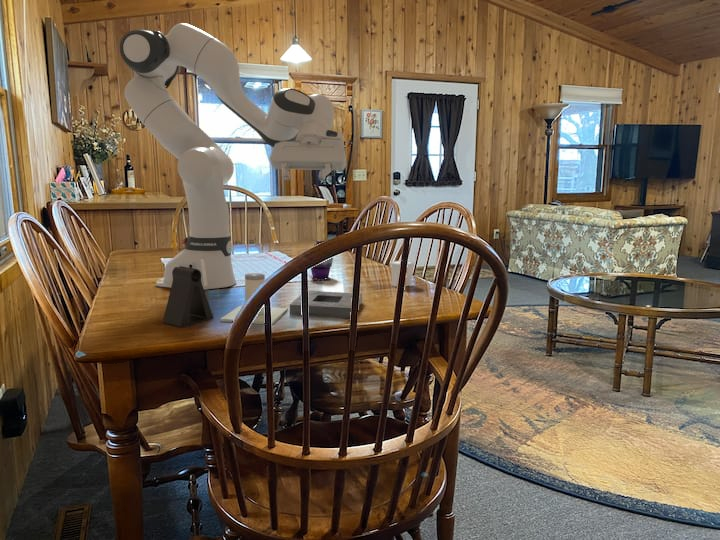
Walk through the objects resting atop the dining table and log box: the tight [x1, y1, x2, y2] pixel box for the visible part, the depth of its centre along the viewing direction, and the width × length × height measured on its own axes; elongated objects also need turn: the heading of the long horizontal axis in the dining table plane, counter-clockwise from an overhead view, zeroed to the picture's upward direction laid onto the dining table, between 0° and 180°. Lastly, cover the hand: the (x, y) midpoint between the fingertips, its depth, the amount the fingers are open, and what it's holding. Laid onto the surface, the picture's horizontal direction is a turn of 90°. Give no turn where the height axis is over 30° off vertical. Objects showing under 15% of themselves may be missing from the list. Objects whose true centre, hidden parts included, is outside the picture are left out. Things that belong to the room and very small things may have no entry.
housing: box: [289, 290, 363, 319], centre depth 130 cm, size 15×15×2 cm
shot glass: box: [390, 260, 415, 288], centre depth 158 cm, size 7×7×7 cm
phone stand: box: [162, 266, 214, 329], centre depth 116 cm, size 9×6×12 cm, turn 146°
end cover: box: [244, 272, 266, 315], centre depth 121 cm, size 4×4×9 cm
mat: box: [219, 305, 289, 326], centre depth 122 cm, size 12×12×1 cm
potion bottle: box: [310, 239, 334, 280], centre depth 166 cm, size 9×9×12 cm
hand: (303, 178), depth 136 cm, fingers open, 8 cm apart
